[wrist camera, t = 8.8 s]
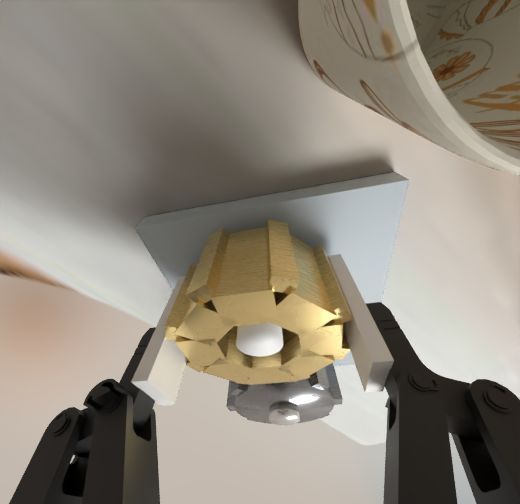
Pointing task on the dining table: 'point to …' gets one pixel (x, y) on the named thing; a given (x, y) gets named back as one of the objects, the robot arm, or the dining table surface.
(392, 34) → the mug
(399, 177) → the gear board
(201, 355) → the gear
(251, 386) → the gear
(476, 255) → the dining table surface
